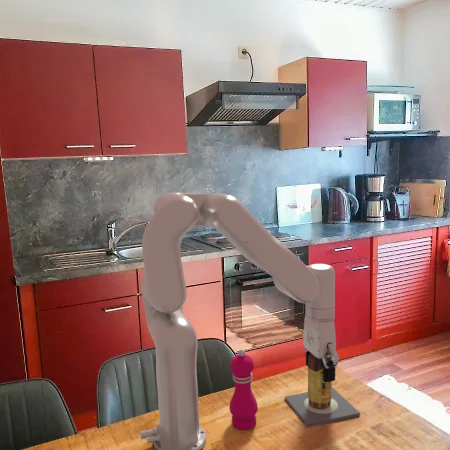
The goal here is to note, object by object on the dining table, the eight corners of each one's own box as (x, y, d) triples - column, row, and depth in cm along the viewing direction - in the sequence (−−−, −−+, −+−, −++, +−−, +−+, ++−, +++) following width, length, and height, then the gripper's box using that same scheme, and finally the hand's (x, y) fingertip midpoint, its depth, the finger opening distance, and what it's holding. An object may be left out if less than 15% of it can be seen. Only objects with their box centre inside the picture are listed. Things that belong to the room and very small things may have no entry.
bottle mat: (307, 427, 113) (307, 423, 113) (284, 399, 126) (284, 396, 126) (359, 415, 117) (359, 412, 117) (332, 390, 130) (332, 387, 130)
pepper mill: (256, 432, 111) (253, 356, 108) (227, 430, 113) (224, 355, 110) (259, 416, 118) (257, 344, 115) (232, 414, 120) (230, 343, 117)
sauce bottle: (325, 413, 117) (324, 340, 114) (303, 405, 121) (302, 335, 118) (335, 401, 122) (335, 332, 119) (314, 395, 126) (314, 327, 123)
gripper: (292, 303, 125) (293, 361, 127) (323, 324, 108) (323, 390, 111) (317, 300, 127) (317, 357, 129) (350, 320, 110) (350, 385, 113)
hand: (320, 372), depth 120 cm, fingers open, 9 cm apart
